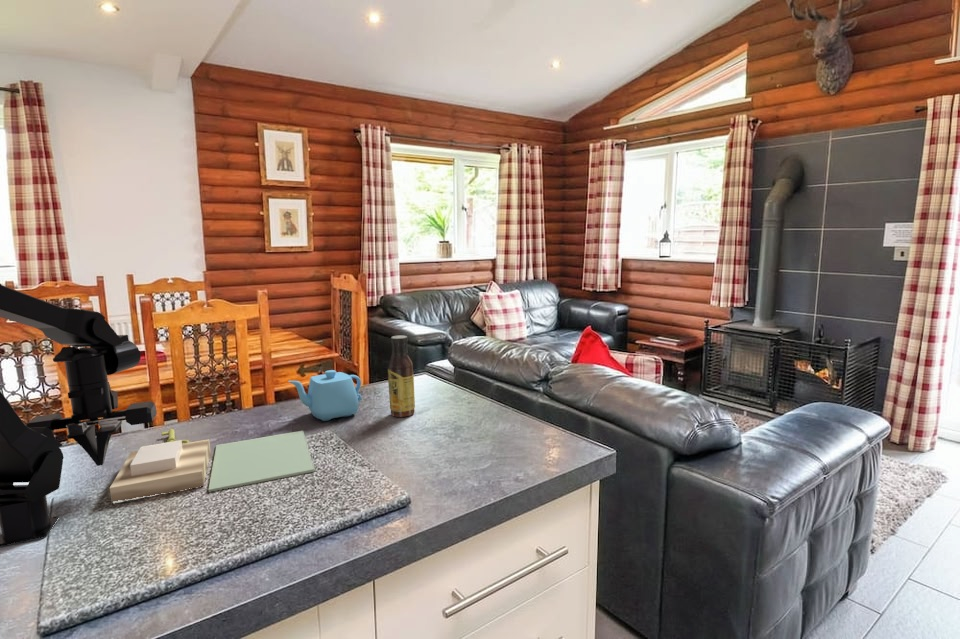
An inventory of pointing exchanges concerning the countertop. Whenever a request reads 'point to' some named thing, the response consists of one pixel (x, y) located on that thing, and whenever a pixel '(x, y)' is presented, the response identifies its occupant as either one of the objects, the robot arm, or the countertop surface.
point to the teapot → (331, 395)
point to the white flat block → (156, 458)
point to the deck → (164, 474)
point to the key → (172, 436)
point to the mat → (260, 460)
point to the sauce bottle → (401, 379)
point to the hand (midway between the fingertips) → (100, 464)
